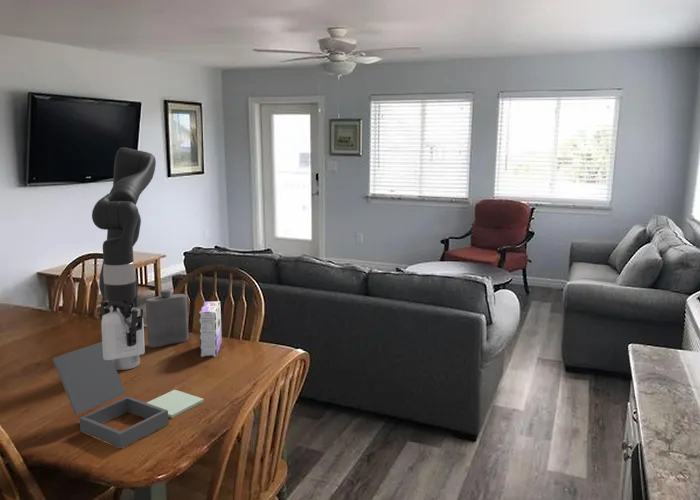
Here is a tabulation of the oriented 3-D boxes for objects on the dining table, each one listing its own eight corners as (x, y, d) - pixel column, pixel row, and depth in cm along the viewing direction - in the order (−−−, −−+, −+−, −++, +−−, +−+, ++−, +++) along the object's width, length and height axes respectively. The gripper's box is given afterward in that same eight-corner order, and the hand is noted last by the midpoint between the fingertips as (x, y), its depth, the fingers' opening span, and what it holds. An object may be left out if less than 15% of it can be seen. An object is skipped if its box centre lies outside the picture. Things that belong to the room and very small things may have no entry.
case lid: (77, 414, 150) (74, 415, 151) (125, 393, 163) (122, 394, 164) (54, 357, 152) (51, 359, 153) (104, 340, 164) (101, 342, 165)
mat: (142, 407, 165) (142, 404, 165) (174, 392, 175) (174, 389, 175) (172, 417, 159) (171, 415, 159) (203, 401, 169) (203, 398, 169)
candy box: (206, 343, 217) (204, 300, 214) (222, 343, 217) (221, 300, 214) (200, 357, 203) (198, 311, 200) (217, 356, 204) (215, 311, 201)
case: (80, 432, 151) (79, 417, 150) (128, 409, 163) (127, 396, 163) (121, 449, 143) (120, 434, 142) (168, 424, 155) (167, 410, 155)
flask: (185, 336, 224) (182, 286, 220) (190, 341, 219) (188, 289, 215) (145, 344, 215) (142, 291, 212) (150, 348, 211) (147, 295, 207)
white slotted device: (142, 349, 156) (140, 305, 153) (146, 354, 152) (144, 309, 150) (101, 357, 150) (98, 311, 148) (104, 362, 146) (101, 315, 144)
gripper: (151, 281, 146) (154, 344, 150) (114, 273, 154) (118, 333, 157) (125, 287, 140) (129, 353, 144) (88, 278, 148) (93, 341, 151)
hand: (123, 342), depth 150 cm, fingers closed on white slotted device, 5 cm apart
